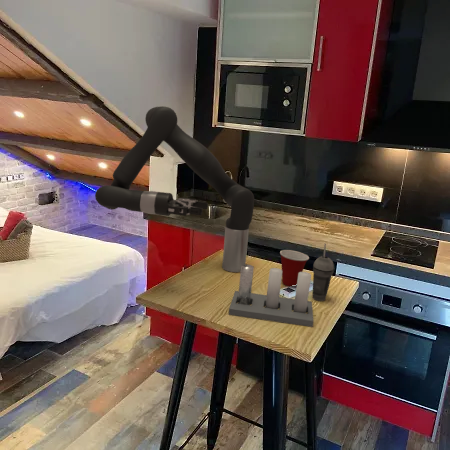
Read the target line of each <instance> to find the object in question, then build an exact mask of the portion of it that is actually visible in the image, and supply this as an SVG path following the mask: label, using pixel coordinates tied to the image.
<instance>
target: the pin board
mask: <svg viewBox="0 0 450 450" xmlns="http://www.w3.org/2000/svg"><path fill="white" fill-rule="evenodd" d="M268 273H269V274H268V282H267V290H266V291H267V292H266V294H261V293H253V292H251V299H250V305H244V304H238V295H239V290H234V293H233V296H232V299H231V302H230V305H229V307H228V315H229V316H235V317H243V318H251V319H256V320H264V321H270V322H277V323H283V324H291V325H297V326H304V327H311V328H313V327H314V313H313V311H314V310H313V301H312V300H311V301H310V300H309V293H310V289H311V288H310V285H311V280H312V274H311V273H310V272H307V271H302V272H299V273H298V280H297V286H296V288H295V296H294V298H289V297H282V296H281V295H280V292H281V285H282V268H277V267H271V268H269V272H268Z"/></svg>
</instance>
